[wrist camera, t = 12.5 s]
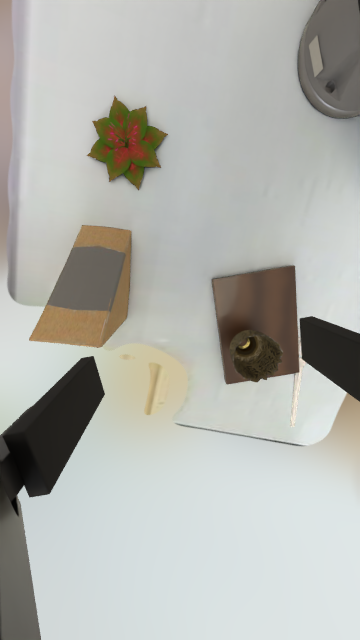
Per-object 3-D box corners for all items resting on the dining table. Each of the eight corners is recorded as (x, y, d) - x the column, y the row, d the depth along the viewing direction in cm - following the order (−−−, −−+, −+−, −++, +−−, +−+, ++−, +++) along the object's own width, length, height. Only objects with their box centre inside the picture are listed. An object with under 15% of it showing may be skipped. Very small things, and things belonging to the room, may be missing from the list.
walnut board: (290, 265, 39) (294, 265, 37) (295, 369, 43) (299, 372, 42) (211, 279, 39) (212, 279, 38) (224, 380, 44) (226, 384, 42)
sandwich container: (133, 229, 37) (105, 206, 22) (128, 319, 40) (102, 348, 26) (80, 224, 37) (17, 196, 22) (80, 314, 40) (26, 342, 26)
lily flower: (75, 161, 34) (60, 145, 30) (111, 81, 32) (100, 51, 28) (142, 205, 36) (138, 197, 32) (181, 132, 34) (182, 112, 29)
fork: (283, 424, 47) (287, 431, 45) (292, 334, 42) (297, 337, 40) (298, 424, 47) (303, 430, 45) (308, 334, 42) (315, 337, 41)
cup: (271, 339, 40) (293, 357, 33) (242, 367, 42) (257, 391, 34) (242, 313, 39) (259, 324, 31) (213, 343, 40) (222, 361, 33)
